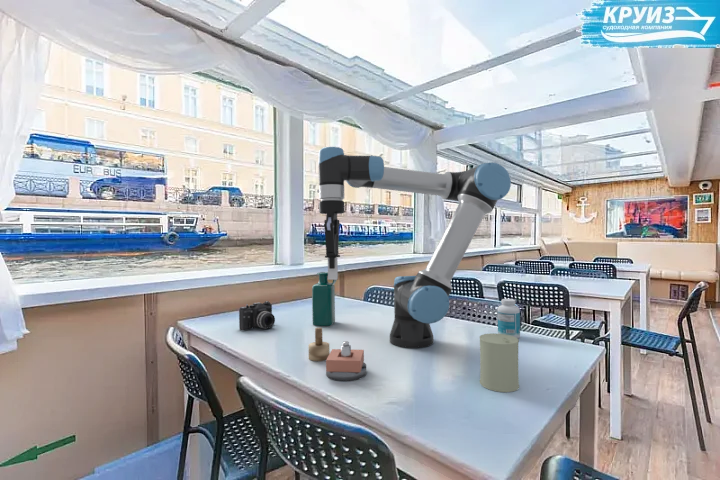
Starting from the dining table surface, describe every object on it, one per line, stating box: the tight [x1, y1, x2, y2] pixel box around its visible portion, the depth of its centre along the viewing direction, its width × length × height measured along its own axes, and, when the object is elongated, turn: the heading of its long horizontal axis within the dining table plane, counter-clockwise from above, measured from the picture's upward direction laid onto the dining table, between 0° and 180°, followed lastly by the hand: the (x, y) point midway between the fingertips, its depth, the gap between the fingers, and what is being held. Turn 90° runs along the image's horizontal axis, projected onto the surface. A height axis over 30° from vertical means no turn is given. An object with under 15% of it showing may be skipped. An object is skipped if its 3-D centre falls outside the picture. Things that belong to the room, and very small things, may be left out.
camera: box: [238, 300, 276, 331], centre depth 149 cm, size 14×11×10 cm
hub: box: [325, 341, 367, 382], centre depth 100 cm, size 11×11×8 cm
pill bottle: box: [497, 298, 521, 340], centre depth 131 cm, size 8×7×14 cm
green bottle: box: [311, 271, 337, 327], centre depth 155 cm, size 10×8×22 cm
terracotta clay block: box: [325, 348, 365, 372], centre depth 99 cm, size 9×9×3 cm
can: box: [479, 333, 520, 393], centre depth 91 cm, size 9×9×12 cm
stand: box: [307, 327, 331, 362], centre depth 112 cm, size 6×6×9 cm
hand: (332, 279), depth 110 cm, fingers closed
